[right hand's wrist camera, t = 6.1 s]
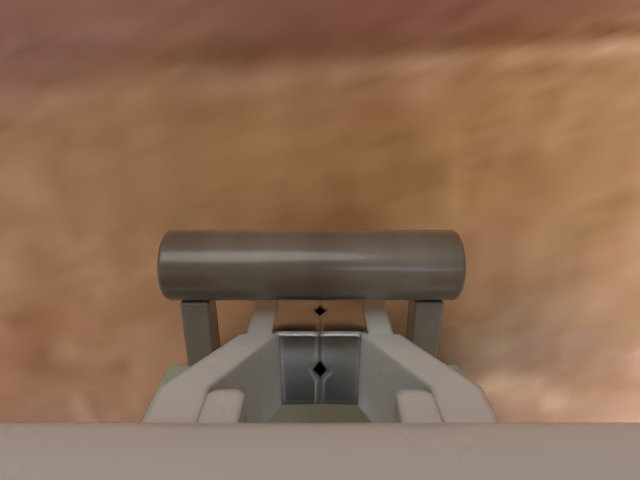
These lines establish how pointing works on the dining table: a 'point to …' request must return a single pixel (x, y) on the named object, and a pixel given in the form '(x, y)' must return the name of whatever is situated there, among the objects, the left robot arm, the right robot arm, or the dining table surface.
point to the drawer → (309, 283)
